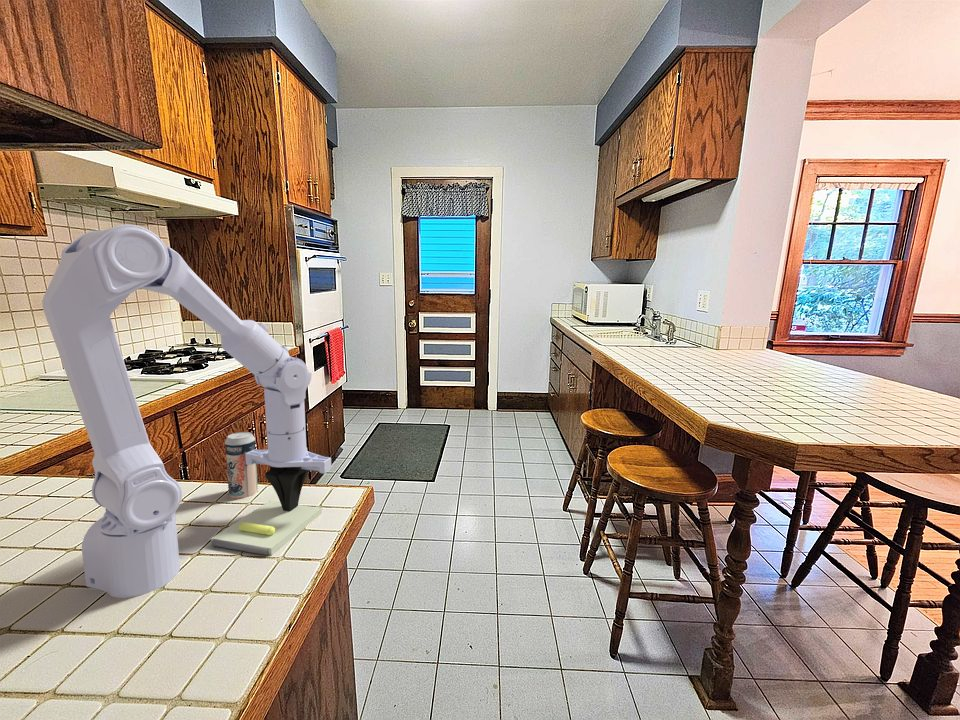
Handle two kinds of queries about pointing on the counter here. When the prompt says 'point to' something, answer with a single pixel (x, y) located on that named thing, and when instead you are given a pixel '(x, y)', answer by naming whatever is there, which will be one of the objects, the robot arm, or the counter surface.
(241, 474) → the beer can
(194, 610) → the counter surface
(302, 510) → the plate
